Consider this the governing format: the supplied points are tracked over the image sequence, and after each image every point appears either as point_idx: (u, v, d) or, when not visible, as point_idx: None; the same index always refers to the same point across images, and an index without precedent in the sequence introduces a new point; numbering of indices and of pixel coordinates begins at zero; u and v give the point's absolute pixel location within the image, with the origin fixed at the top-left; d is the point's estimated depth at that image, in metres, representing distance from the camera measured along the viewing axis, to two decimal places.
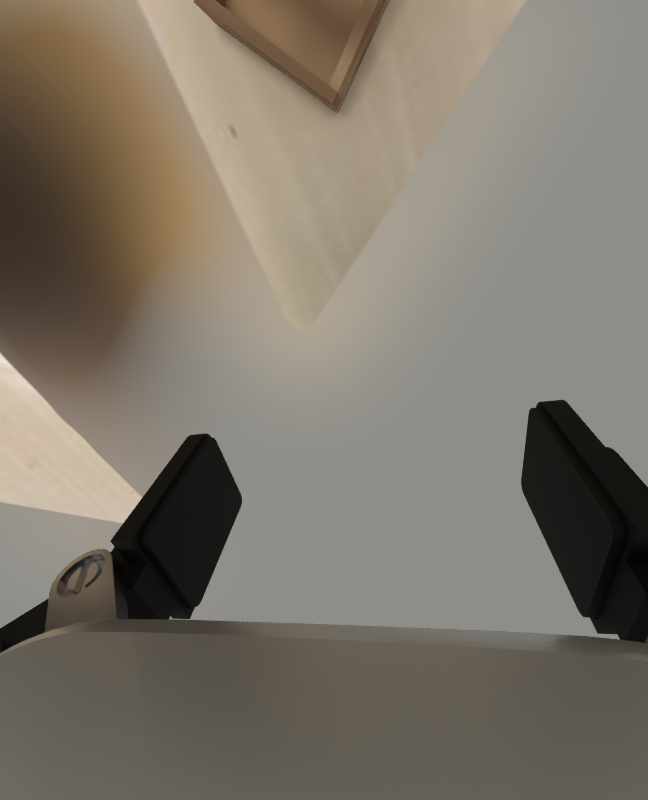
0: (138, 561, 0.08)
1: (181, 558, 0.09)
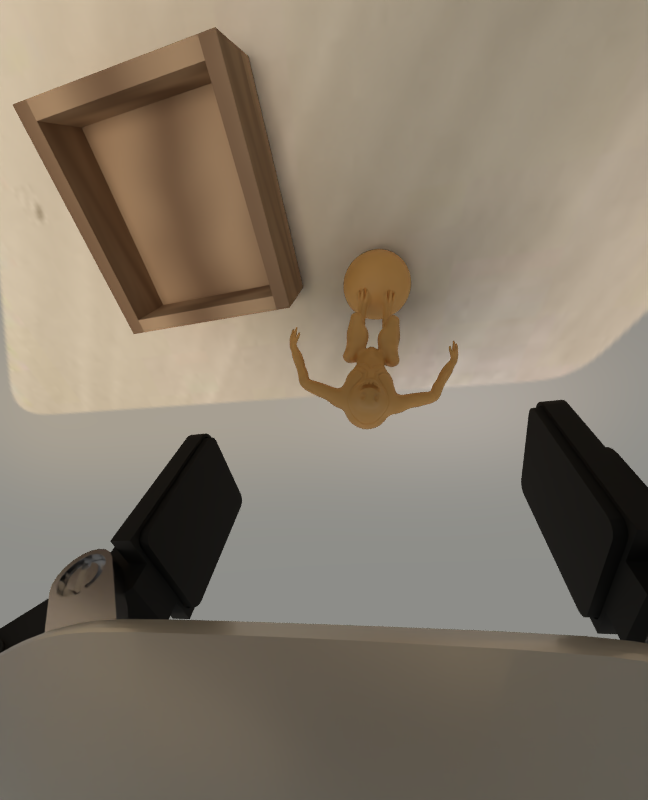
0: (138, 561, 0.08)
1: (181, 558, 0.09)
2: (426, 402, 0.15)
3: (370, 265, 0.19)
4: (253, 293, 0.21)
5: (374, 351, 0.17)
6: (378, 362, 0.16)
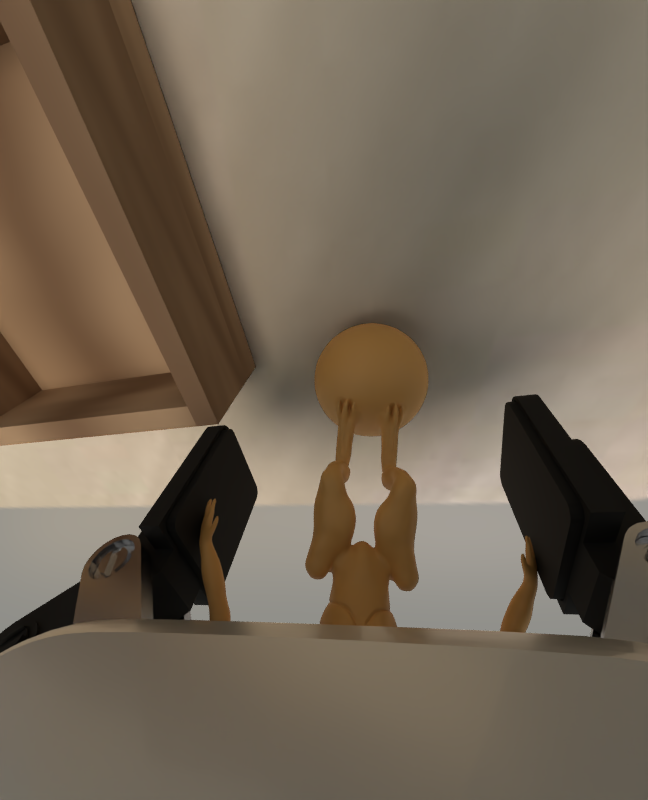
0: (165, 547, 0.08)
1: None
2: None
3: (358, 359, 0.10)
4: (165, 389, 0.13)
5: (368, 563, 0.08)
6: (376, 603, 0.07)
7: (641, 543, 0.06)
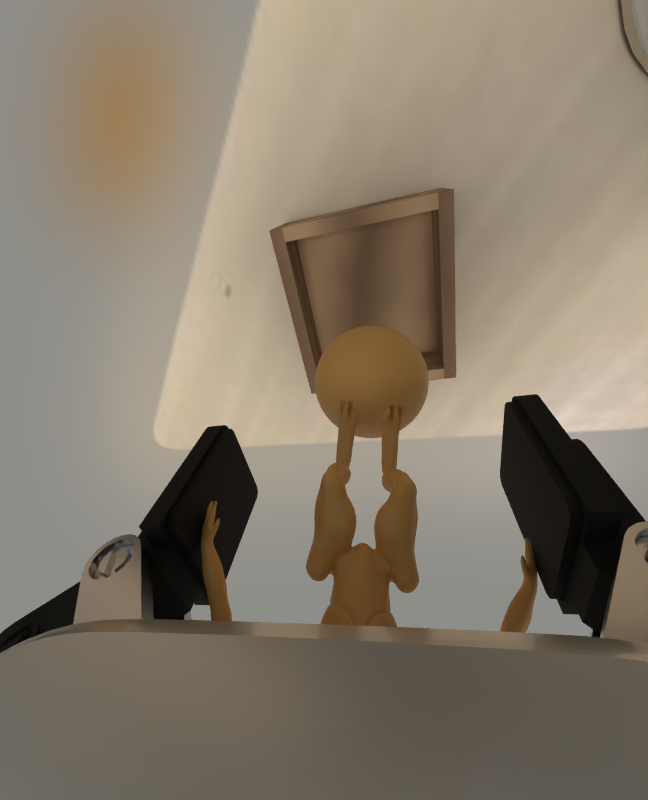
0: (165, 547, 0.08)
1: None
2: None
3: (359, 362, 0.11)
4: None
5: (368, 565, 0.08)
6: (377, 605, 0.07)
7: (641, 543, 0.06)
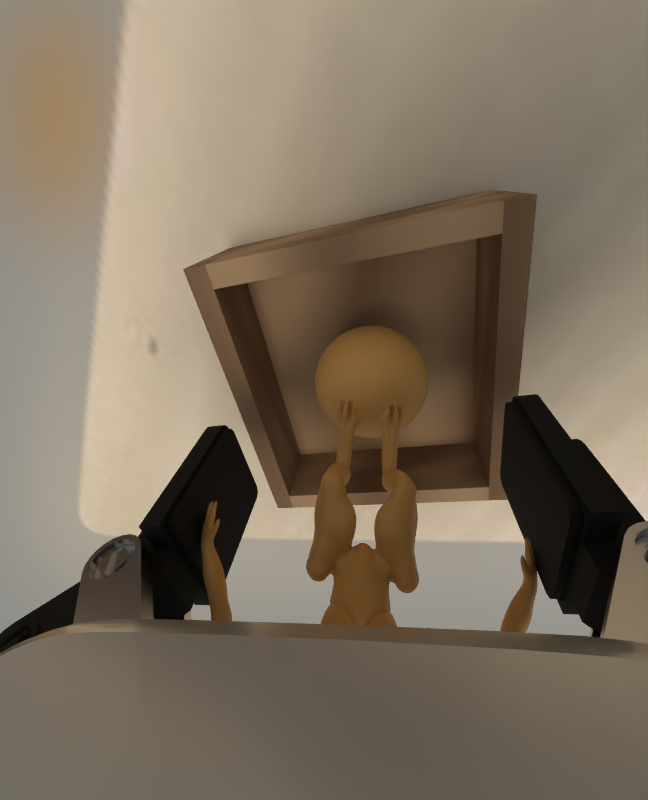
0: (165, 547, 0.08)
1: None
2: None
3: (359, 362, 0.11)
4: (443, 465, 0.16)
5: (368, 565, 0.08)
6: (377, 605, 0.07)
7: (640, 543, 0.06)
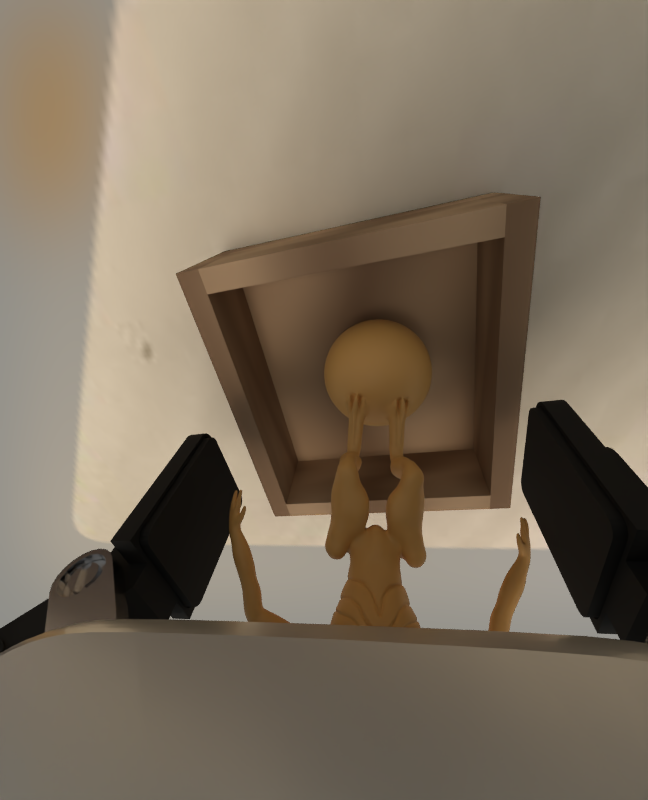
0: (138, 561, 0.08)
1: (181, 558, 0.09)
2: None
3: (368, 357, 0.11)
4: (443, 473, 0.16)
5: (382, 544, 0.09)
6: (391, 579, 0.08)
7: None
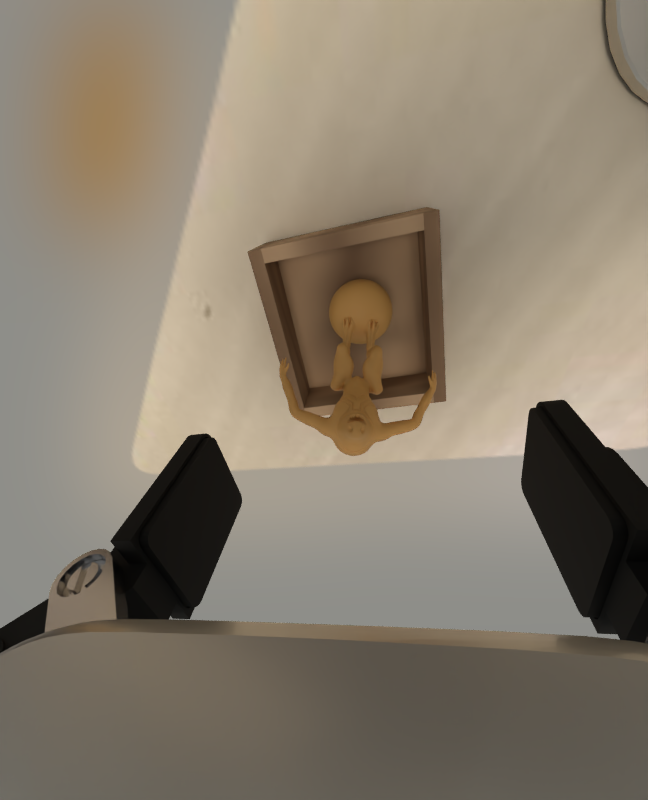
0: (138, 561, 0.08)
1: (181, 558, 0.09)
2: (408, 430, 0.17)
3: (354, 295, 0.20)
4: (405, 385, 0.25)
5: (359, 381, 0.18)
6: (363, 392, 0.17)
7: None
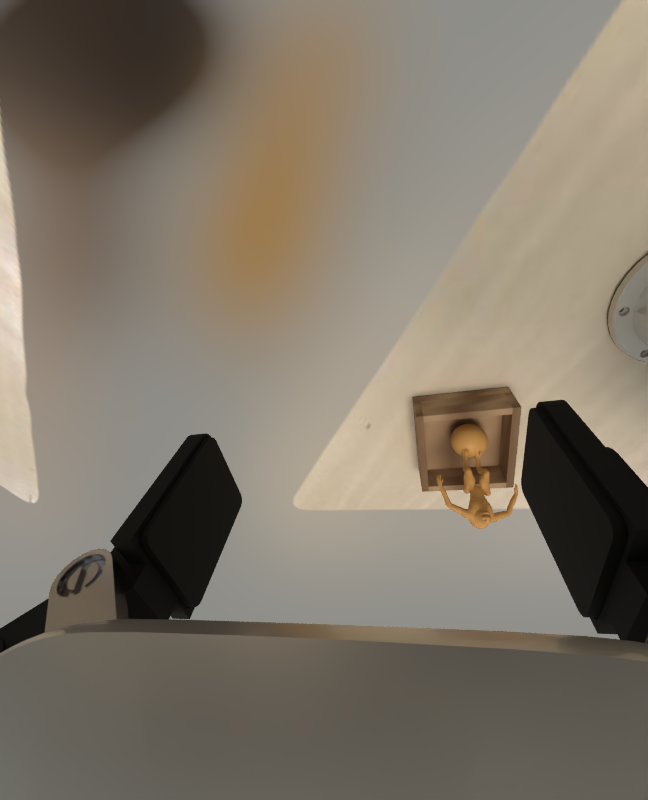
0: (138, 561, 0.08)
1: (181, 558, 0.09)
2: (506, 516, 0.35)
3: (470, 438, 0.38)
4: None
5: (479, 489, 0.36)
6: (483, 496, 0.35)
7: None
